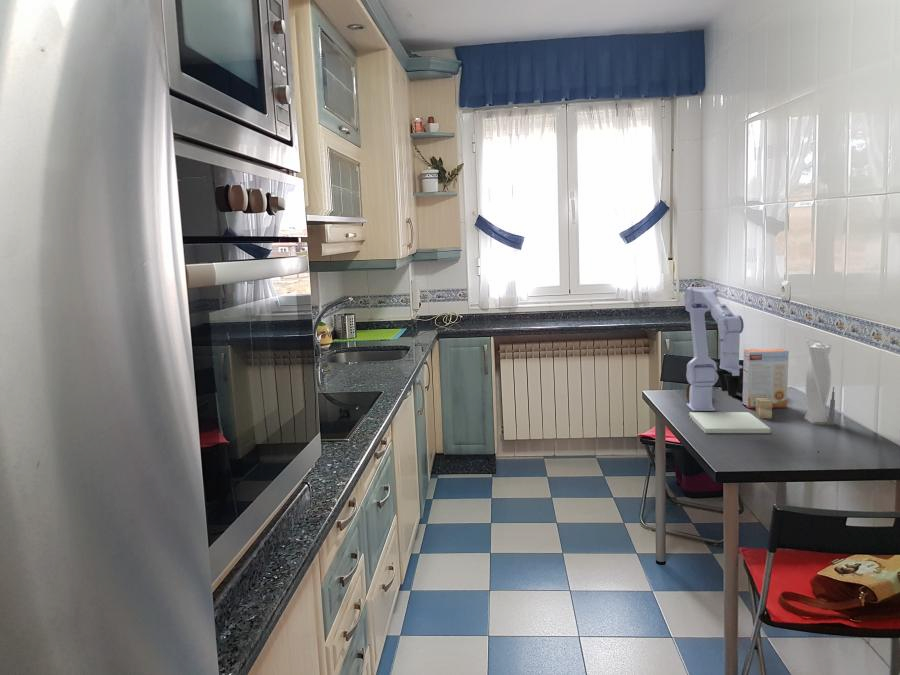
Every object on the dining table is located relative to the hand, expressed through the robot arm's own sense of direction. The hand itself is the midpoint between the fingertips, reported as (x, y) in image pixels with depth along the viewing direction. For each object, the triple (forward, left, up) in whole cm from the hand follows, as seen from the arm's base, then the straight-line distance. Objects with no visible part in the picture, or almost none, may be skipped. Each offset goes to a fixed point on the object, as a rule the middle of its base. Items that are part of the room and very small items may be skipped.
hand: (728, 393), depth 229 cm
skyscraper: (-4, +30, -11) cm, 32 cm away
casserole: (-41, +22, -11) cm, 48 cm away
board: (0, 0, -11) cm, 11 cm away
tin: (-35, -1, -11) cm, 37 cm away
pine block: (-10, +15, -11) cm, 21 cm away
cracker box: (-24, +20, -11) cm, 33 cm away
